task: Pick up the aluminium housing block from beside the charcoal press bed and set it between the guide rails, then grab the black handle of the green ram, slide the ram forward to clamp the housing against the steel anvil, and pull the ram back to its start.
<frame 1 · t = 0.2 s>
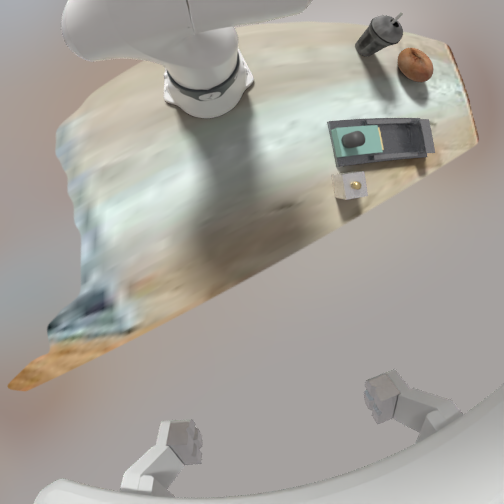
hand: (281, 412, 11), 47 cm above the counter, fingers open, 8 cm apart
ram: (363, 139, 48), point 5 cm above the counter, slide at 0.0 cm
beverage cup: (363, 49, 47), on the counter
housing: (343, 184, 56), on the counter
press: (381, 139, 53), on the counter
onion: (406, 69, 49), on the counter
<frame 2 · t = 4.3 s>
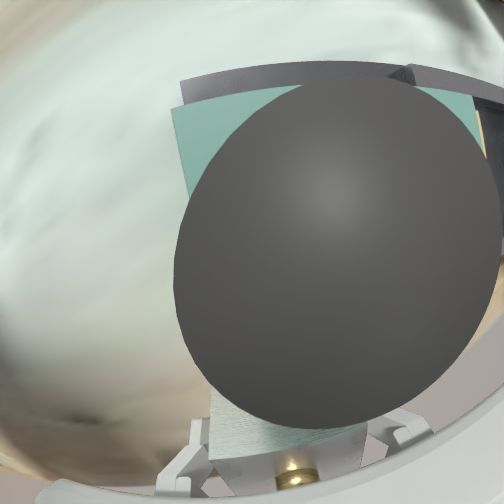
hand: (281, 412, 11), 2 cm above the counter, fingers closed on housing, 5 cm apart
ram: (412, 190, 6), point 5 cm above the counter, slide at 0.0 cm
housing: (274, 380, 13), on the counter, touching gripper
press: (460, 167, 11), on the counter
when the fingers open (4 cm above the counter, at t = 10.3 s): housing stays where it is, resting on press.
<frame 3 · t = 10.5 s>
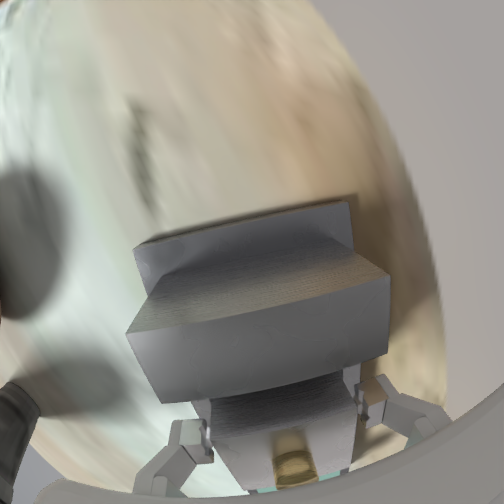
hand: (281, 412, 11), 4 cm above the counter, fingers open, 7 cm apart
ram: (304, 503, 13), point 5 cm above the counter, slide at 0.0 cm
beverage cup: (23, 399, 15), on the counter
housing: (272, 370, 14), point 1 cm above the counter, touching press
press: (282, 410, 16), on the counter
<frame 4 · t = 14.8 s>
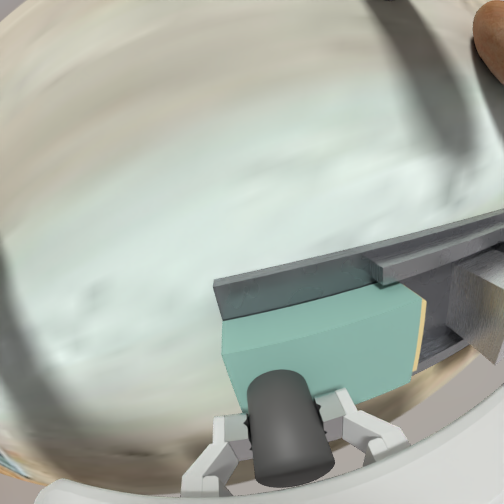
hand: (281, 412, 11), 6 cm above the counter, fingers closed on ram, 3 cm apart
ram: (346, 385, 11), point 5 cm above the counter, slide at 0.0 cm, touching gripper
housing: (470, 285, 15), point 1 cm above the counter, touching press
press: (418, 300, 16), on the counter
onion: (487, 59, 12), on the counter
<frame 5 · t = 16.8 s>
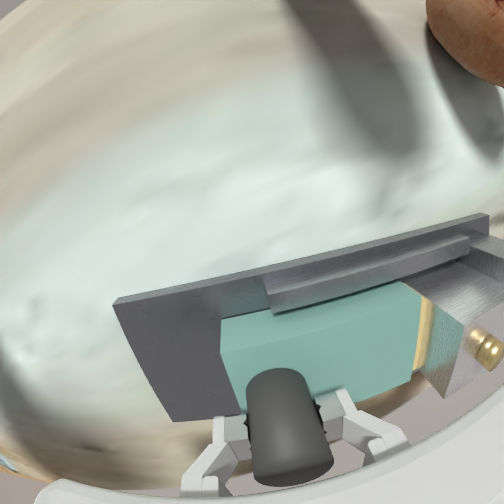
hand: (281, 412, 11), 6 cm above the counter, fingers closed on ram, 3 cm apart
ram: (346, 383, 11), point 5 cm above the counter, slide at 5.9 cm, touching gripper, housing
housing: (427, 303, 15), point 1 cm above the counter, touching press, ram
press: (344, 324, 16), on the counter
onion: (450, 42, 11), on the counter
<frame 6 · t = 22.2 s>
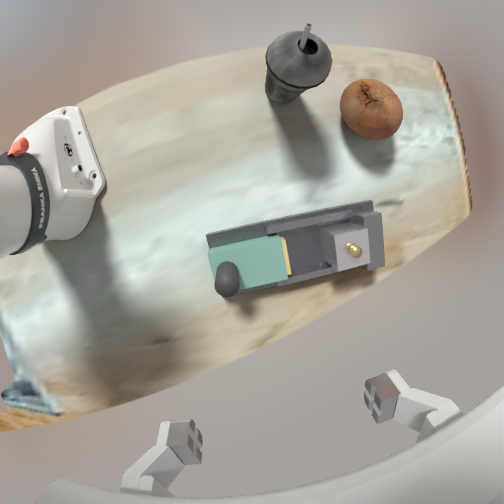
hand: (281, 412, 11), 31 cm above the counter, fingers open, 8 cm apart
ram: (251, 268, 36), point 5 cm above the counter, slide at 0.0 cm
beverage cup: (280, 90, 35), on the counter
housing: (337, 239, 40), point 1 cm above the counter, touching press
press: (298, 246, 41), on the counter
onion: (358, 114, 37), on the counter
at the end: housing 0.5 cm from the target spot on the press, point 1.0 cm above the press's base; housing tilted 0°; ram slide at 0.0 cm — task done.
